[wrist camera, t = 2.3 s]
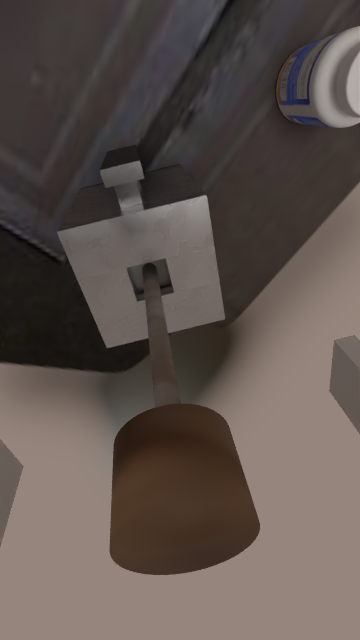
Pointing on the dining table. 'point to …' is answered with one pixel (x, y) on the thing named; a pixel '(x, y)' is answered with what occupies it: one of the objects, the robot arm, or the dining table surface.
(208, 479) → the plunger
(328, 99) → the pill bottle
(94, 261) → the grey block with hole
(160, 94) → the dining table surface
